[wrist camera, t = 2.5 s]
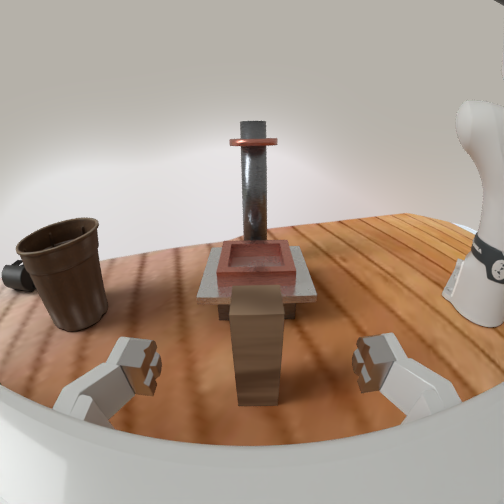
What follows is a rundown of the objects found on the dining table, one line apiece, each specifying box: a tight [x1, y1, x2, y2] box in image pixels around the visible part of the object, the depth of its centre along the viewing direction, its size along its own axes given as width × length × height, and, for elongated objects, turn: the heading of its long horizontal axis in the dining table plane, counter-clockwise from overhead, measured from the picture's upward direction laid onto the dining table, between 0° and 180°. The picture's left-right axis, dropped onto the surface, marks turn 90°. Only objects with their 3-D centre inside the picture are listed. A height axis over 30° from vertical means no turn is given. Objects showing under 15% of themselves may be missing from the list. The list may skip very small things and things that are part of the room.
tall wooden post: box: [229, 285, 285, 406], centre depth 27 cm, size 4×4×14 cm
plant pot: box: [16, 218, 108, 331], centre depth 39 cm, size 16×16×16 cm
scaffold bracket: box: [196, 121, 317, 320], centre depth 45 cm, size 26×17×30 cm, turn 0°
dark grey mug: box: [2, 260, 36, 292], centre depth 47 cm, size 10×7×7 cm
